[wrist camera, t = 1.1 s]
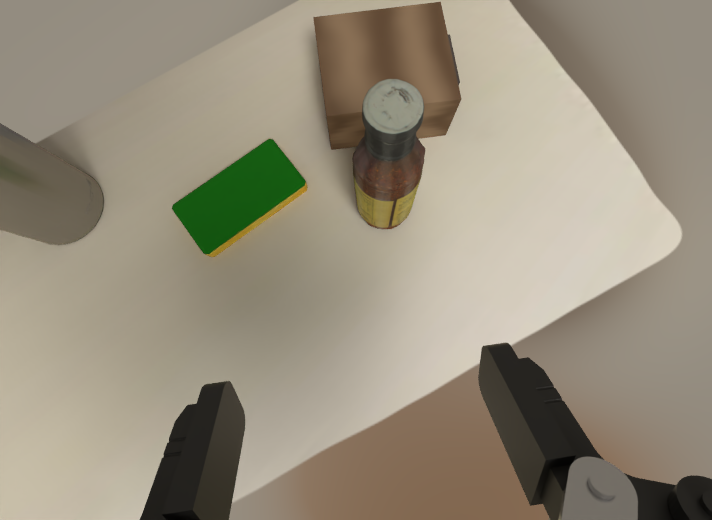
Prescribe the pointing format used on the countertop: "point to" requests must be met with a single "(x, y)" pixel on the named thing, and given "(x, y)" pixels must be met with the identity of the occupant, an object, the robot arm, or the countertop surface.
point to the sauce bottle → (389, 153)
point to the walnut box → (386, 65)
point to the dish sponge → (240, 198)
